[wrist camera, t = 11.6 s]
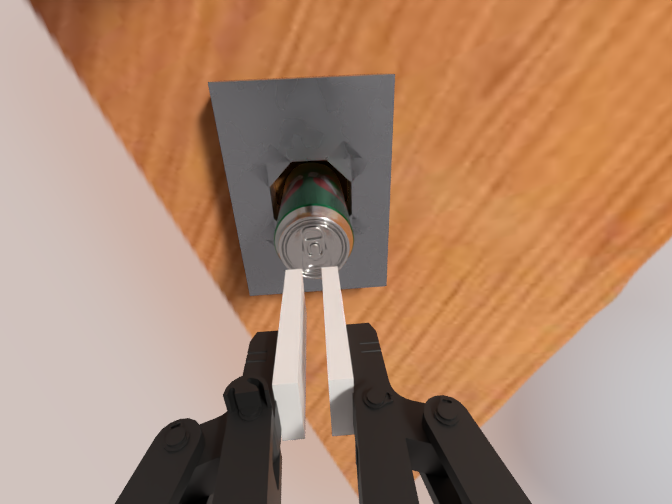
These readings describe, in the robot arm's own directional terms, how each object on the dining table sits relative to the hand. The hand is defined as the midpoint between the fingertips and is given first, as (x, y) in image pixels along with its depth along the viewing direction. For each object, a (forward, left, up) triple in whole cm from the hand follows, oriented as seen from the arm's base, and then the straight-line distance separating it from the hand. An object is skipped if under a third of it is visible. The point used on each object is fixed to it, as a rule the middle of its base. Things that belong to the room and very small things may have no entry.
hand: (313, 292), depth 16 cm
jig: (0, 0, -16) cm, 16 cm away
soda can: (0, 0, -17) cm, 17 cm away
